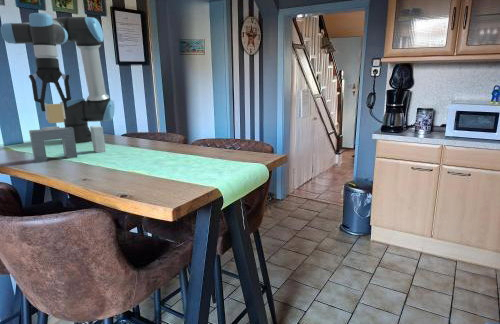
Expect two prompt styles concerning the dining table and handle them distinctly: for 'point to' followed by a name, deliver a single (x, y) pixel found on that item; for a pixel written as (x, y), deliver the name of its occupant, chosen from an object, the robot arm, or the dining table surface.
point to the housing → (51, 134)
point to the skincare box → (97, 139)
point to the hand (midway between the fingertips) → (56, 119)
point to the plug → (55, 113)
